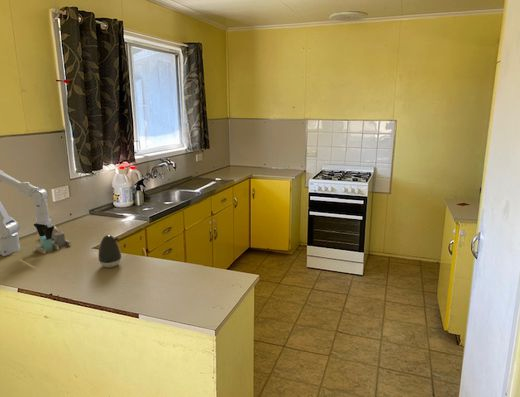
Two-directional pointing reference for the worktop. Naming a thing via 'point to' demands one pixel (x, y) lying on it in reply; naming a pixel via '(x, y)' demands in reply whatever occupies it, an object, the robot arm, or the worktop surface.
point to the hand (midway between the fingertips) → (45, 237)
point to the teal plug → (46, 243)
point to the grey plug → (59, 239)
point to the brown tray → (55, 247)
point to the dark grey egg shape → (109, 252)
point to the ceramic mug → (55, 231)
